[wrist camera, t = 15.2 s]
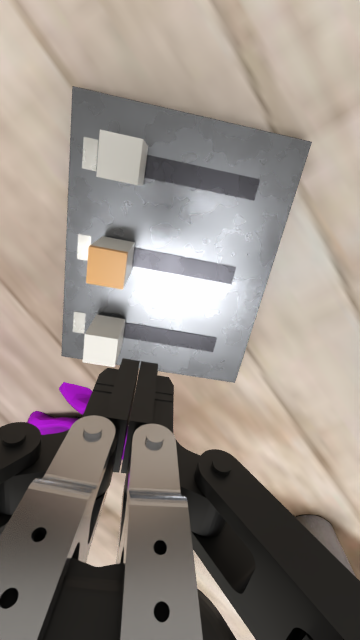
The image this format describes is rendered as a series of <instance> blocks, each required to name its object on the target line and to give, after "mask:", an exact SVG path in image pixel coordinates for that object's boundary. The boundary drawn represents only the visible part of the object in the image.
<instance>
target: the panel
mask: <svg viewBox="0 0 360 640" xmlns="http://www.w3.org/2000/svg"><path fill="white" fill-rule="evenodd" d="M100 130H105V131H109V132H114V133H118V134H123V135H127V136H132V137H136V138H141V139H143V140H144V141H145V142H146V144H147V145H148V152H147V160H146V167H145V175H144V182H143V185H134V184H129V183H124V182H119V181H114V180H110V179H105V178H100V177H96V174H97V160H98V147H99V133H100ZM311 143H312V142H310V141H305V140H301V139H297V138H293V137H288V136H284V135H280V134H275V133H271V132H267V131H263V130H258V129H254V128H250V127H245V126H241V125H237V124H233V123H228V122H224V121H220V120H215V119H211V118H207V117H203V116H198V115H194V114H190V113H185V112H181V111H177V110H173V109H168V108H164V107H160V106H155V105H151V104H147V103H143V102H138V101H134V100H130V99H125V98H121V97H117V96H113V95H108V94H104V93H100V92H95V91H91V90H87V89H83V88H78V87H74V86H73V89H72V113H71V138H70V162H69V186H68V211H67V235H66V260H65V284H64V309H63V333H62V356H64V357H71V358H77V359H83V350H84V337H85V333H86V331H87V329H88V328H89V326H90V324H91V323H92V321H93V319H94V318H95V316H96V314H97V315H103V316H109V317H115V318H121V319H125V327H124V334H123V342H122V346H121V349H120V353H119V356H118V359H117V362H116V365H121V361H122V358H126V359H132V360H139V361H140V363H139V368H140V365H141V361H145V362H152V363H158V371H162V372H168V373H175V374H182V375H188V376H195V377H201V378H208V379H214V380H221V381H227V382H234V383H235V381H236V378H237V374H238V371H239V368H240V365H241V362H242V359H243V356H244V353H245V349H246V346H247V343H248V340H249V337H250V334H251V331H252V328H253V324H254V321H255V318H256V315H257V312H258V309H259V306H260V303H261V299H262V296H263V293H264V290H265V287H266V284H267V281H268V278H269V274H270V271H271V268H272V265H273V262H274V259H275V256H276V253H277V249H278V246H279V243H280V240H281V237H282V234H283V231H284V228H285V224H286V221H287V218H288V215H289V212H290V209H291V206H292V202H293V199H294V196H295V193H296V190H297V187H298V184H299V181H300V177H301V174H302V171H303V168H304V165H305V162H306V159H307V156H308V152H309V149H310V146H311ZM102 236H105V237H110V238H115V239H120V240H125V241H131V242H135V246H134V254H133V261H132V269H131V274H130V276H129V278H128V280H127V282H126V284H125V286H124V288H123V290H122V289H116V288H111V287H105V286H99V285H94V284H88V283H86V276H87V261H88V247H89V246H90V245H91V244H93V243H94V242H95V241H97V240H98V239H100V238H101V237H102Z"/></svg>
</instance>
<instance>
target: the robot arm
mask: <svg viewBox="0 0 360 640" xmlns="http://www.w3.org/2000/svg"><path fill="white" fill-rule="evenodd" d="M139 363H140V361H139V360H132V359H126V358H122V361H121V365H120V368H119V370H118V369H112V368H107V369H106V370H104V371H103V372H102V373H100V374H99V377H98V379H97V382H96V384H95V387H94V389H93V391H92V394H91V396H90V399H89V401H88V404H87V406H86V409H85V411H84V413H83V416H82V418H80V419H78V420H77V421H76V422H75V423H74V424H73V425H72V426H71V428H70V429H69V430H67V431H64V432H60V433H54V434H46V435H41V432H40V430H39V429H38V428H37V427H36V426H34V425H33V424H30V423H25V422H16V423H11V424H7V425H5V426H2V427H0V640H236V638H235V636H234V635H233V633H232V632H231V630H230V628H229V627H228V625H227V623H226V622H225V620H224V619H223V617H222V616H221V614H220V613H219V611H218V610H217V608H216V607H215V606H214V605H213V603H212V602H211V601H210V600H209V599H208V598H207V597H206V596H205V595H204V594H203V593H202V592H201V591H200V590H198V589H197V582H196V573H195V564H194V555H193V550H194V551H195V552H196V554H197V555H198V557H199V558H200V560H201V561H202V563H203V564H204V565H205V567H206V568H207V570H208V571H209V573H210V574H211V576H212V577H213V578H214V580H215V581H216V583H217V584H218V586H219V587H220V588H221V590H222V591H223V593H224V594H225V596H226V597H227V599H228V600H229V601H230V603H231V604H232V606H233V607H234V609H235V610H236V611H237V613H238V614H239V616H240V617H241V619H242V620H243V622H244V623H245V624H246V626H247V627H248V629H249V630H250V632H251V633H252V634H253V636H254V637H255V639H256V640H360V581H359V580H358V579H357V578H356V577H355V576H354V575H353V574H352V573H351V572H350V571H349V570H348V569H347V568H346V567H345V566H344V565H343V564H342V563H341V562H340V561H339V560H338V559H337V558H336V557H335V556H334V555H333V554H332V553H331V552H330V551H329V550H328V549H327V548H326V547H325V546H324V545H323V544H322V543H321V542H320V541H319V540H318V539H317V538H316V537H315V536H314V535H313V534H312V533H311V532H310V531H309V530H308V529H307V528H306V527H305V526H303V525H302V524H301V523H300V522H299V521H298V520H297V519H296V518H295V517H294V516H293V515H292V514H291V513H290V512H289V511H288V510H287V509H286V508H285V507H284V506H283V505H282V504H281V503H280V502H279V501H278V500H277V499H276V498H275V497H274V496H273V495H272V494H271V493H270V492H269V491H268V490H267V489H266V488H265V487H264V486H263V485H262V484H261V483H260V482H259V481H258V480H257V479H256V478H255V477H254V476H253V475H252V474H251V473H250V472H249V471H248V470H247V469H246V468H245V467H244V466H243V465H242V464H241V463H240V462H239V461H238V460H237V459H236V458H234V457H233V456H232V455H231V454H229V453H227V452H225V451H222V450H216V449H213V450H208V451H205V452H204V453H203V454H202V455H201V456H200V455H197V454H195V453H193V452H190V451H188V450H186V449H185V448H183V447H182V446H181V445H180V444H179V443H178V442H177V440H176V439H175V436H174V434H173V394H174V385H173V384H172V382H171V380H170V378H169V377H164V376H157V372H158V363H152V362H145V361H141V365H140V370H139ZM138 370H139V375H138ZM137 376H138V380H137ZM136 382H137V385H136ZM135 388H136V390H135ZM134 394H135V395H134ZM128 425H129V426H128ZM127 430H128V432H127ZM126 435H127V438H126ZM125 440H126V445H125ZM124 445H125V451H124V457H123V463H122V469H121V473H126V479H125V485H124V491H123V497H122V507H121V518H120V529H119V540H118V551H117V560H116V564H114V565H109V566H103V567H94V566H91V565H89V564H87V563H86V560H87V556H88V553H89V549H90V546H91V543H92V540H93V536H94V533H95V530H96V527H97V524H98V520H99V517H100V514H101V511H102V507H103V504H104V501H105V498H106V494H107V489H108V487H109V485H110V482H111V477H112V473H113V472H119V470H120V465H121V460H122V455H123V450H124Z"/></svg>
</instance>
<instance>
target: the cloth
mask: <svg viewBox="0 0 360 640" xmlns="http://www.w3.org/2000/svg"><path fill="white" fill-rule="evenodd" d="M59 390H60V392H61V393H62V395H63V396H64V397H65V399H66V400H67V402H68V403H69V404H70V405H71V406H72V407H73V408H74V409H76V410H77V411H78V412H79V413H80V414H82V415H83V413H84V411H85V409H86V406H87V404H88V401H89V399H90V396H91V394H92V391H91V390H90V389H89V388H86V387H82V386H78V385H74V384H69V383H65V382H63V384H62V385H61V386H60V388H59ZM78 419H80V418H70V417H58V418H55V417H52V416H49V415H47V414H44V413H42V412H39V411H35V412H33V413H32V414H31V416H30V418H29V420H28V422H27V423H30V424H33V425H34V426H36V427H37V428H38V429H39V430H40V432H41V435H46V434H54V433H60V432H64V431H67V430H69V429H70V428H71V426H72V425H73V424H74V423H75V422H76V421H77V420H78ZM127 432H128V430H127ZM126 438H127V435H126ZM125 445H126V440H125ZM125 445H124V450H123V455H122V460H123V457H124V451H125Z"/></svg>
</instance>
